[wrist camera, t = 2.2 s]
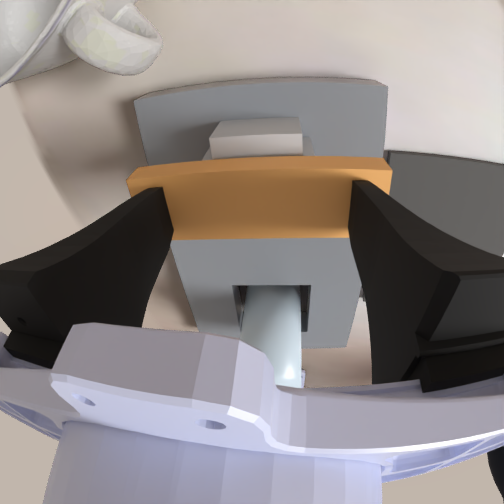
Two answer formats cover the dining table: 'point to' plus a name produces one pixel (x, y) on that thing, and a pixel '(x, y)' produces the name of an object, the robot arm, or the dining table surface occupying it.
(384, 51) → the dining table surface
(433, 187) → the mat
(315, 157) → the plunger
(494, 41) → the dining table surface
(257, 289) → the cylinder
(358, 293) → the housing
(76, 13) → the teacup
